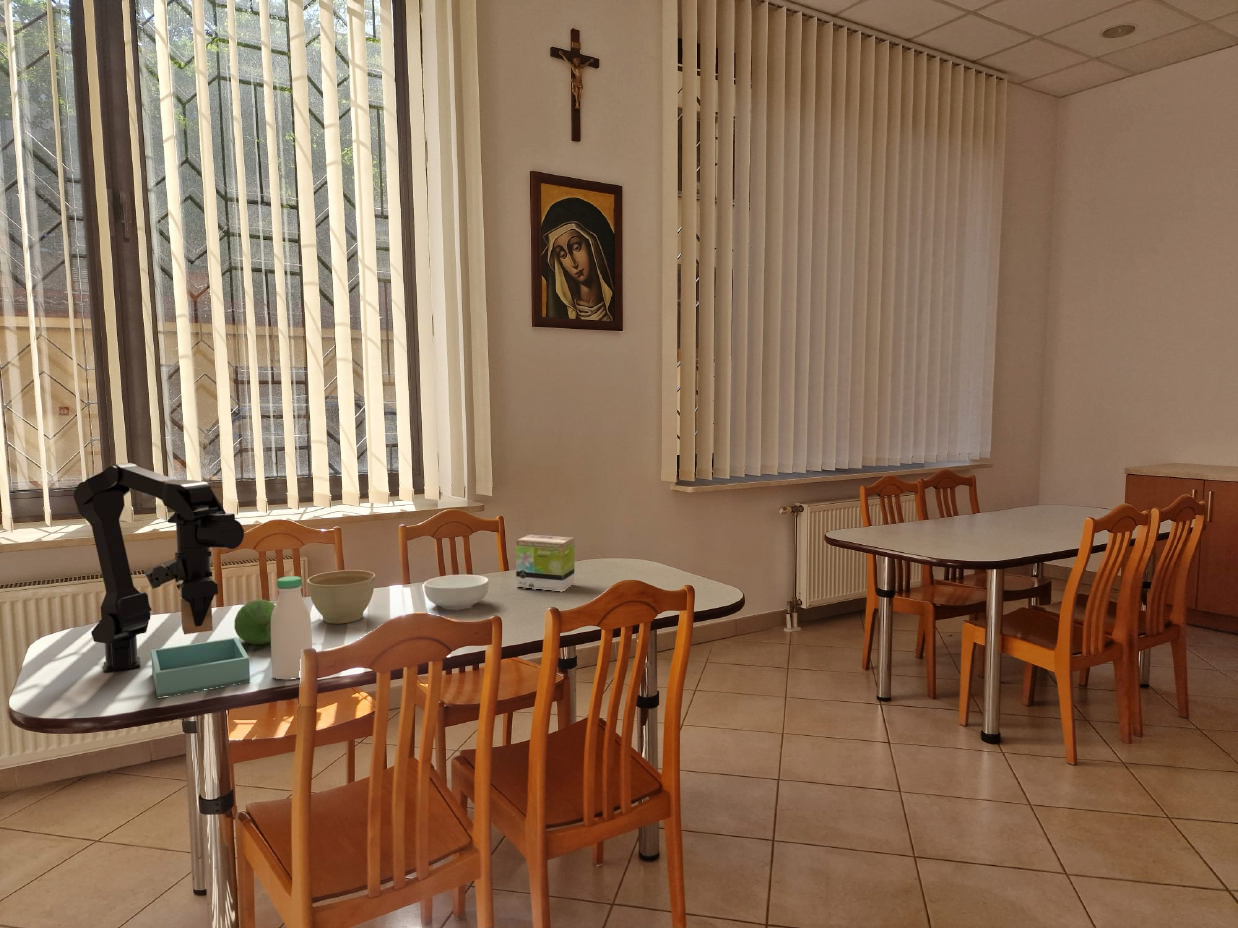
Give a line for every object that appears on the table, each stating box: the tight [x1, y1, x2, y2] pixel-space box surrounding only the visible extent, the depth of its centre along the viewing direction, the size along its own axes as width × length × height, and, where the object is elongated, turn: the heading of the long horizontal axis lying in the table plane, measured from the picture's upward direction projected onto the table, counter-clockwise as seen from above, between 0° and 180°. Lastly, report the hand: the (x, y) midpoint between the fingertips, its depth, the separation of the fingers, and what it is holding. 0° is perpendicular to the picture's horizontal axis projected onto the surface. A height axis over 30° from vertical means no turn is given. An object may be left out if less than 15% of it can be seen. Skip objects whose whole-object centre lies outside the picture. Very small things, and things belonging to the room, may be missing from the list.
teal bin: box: [150, 636, 251, 698], centre depth 162 cm, size 16×16×5 cm
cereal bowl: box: [423, 574, 490, 611], centre depth 217 cm, size 17×17×7 cm
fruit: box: [233, 599, 276, 646], centre depth 183 cm, size 15×10×10 cm, turn 35°
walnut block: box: [180, 598, 214, 635], centre depth 161 cm, size 5×5×6 cm
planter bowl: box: [307, 569, 376, 625], centre depth 204 cm, size 16×16×11 cm
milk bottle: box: [270, 575, 313, 680], centre depth 163 cm, size 8×8×20 cm
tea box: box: [515, 533, 575, 590], centre depth 237 cm, size 15×10×15 cm
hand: (197, 622), depth 161 cm, fingers closed on walnut block, 5 cm apart
